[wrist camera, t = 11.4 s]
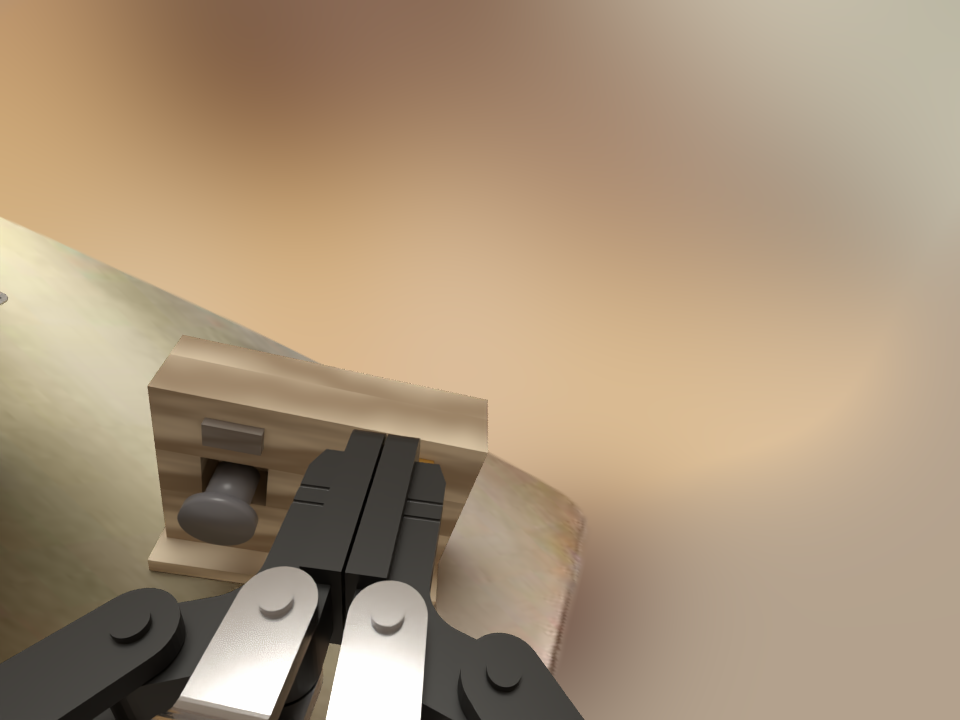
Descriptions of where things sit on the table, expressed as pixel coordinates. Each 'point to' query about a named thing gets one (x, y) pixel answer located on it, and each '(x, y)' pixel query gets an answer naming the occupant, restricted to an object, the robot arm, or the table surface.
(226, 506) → the grey button
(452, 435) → the birch console
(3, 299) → the emergency button
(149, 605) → the robot arm
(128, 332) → the table surface
